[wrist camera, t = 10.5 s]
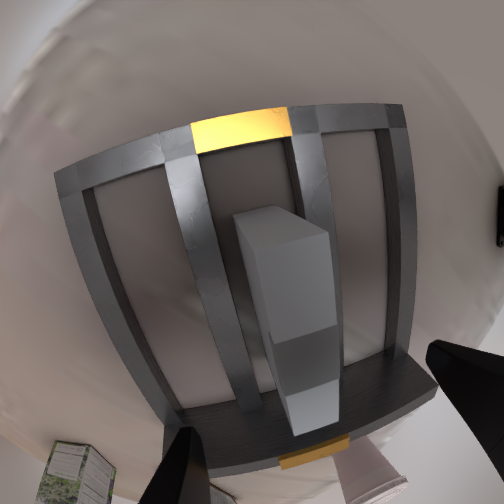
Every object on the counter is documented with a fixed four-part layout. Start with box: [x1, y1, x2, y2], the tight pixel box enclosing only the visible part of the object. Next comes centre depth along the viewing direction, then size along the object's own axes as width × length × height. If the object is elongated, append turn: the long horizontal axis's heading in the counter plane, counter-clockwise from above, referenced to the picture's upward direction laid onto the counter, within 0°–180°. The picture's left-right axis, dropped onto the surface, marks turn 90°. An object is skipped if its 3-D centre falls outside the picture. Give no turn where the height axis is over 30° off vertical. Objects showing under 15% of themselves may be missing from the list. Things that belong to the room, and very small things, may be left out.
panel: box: [232, 205, 340, 436], centre depth 13 cm, size 2×10×7 cm, turn 12°
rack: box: [54, 103, 439, 478], centre depth 13 cm, size 20×20×6 cm
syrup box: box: [35, 441, 116, 504], centre depth 12 cm, size 6×6×14 cm
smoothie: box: [332, 435, 409, 504], centre depth 16 cm, size 6×6×14 cm
